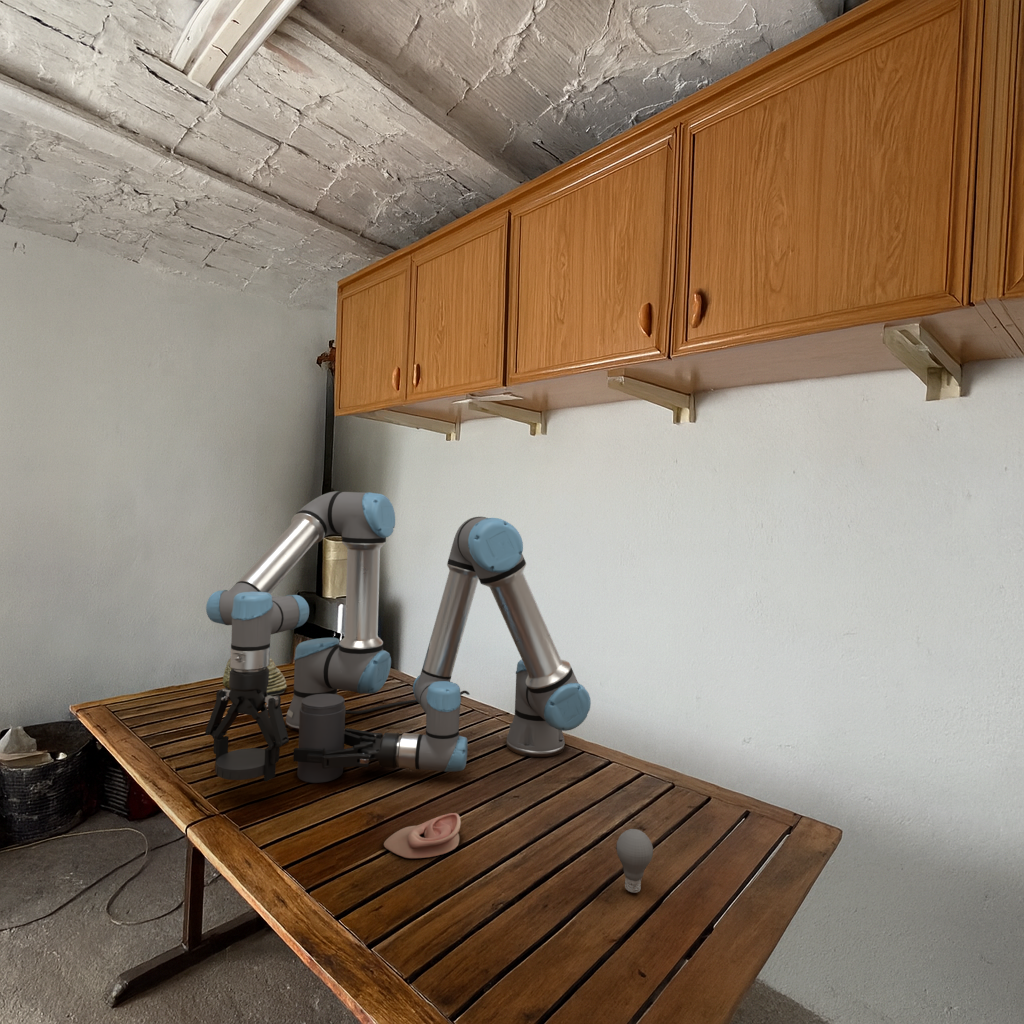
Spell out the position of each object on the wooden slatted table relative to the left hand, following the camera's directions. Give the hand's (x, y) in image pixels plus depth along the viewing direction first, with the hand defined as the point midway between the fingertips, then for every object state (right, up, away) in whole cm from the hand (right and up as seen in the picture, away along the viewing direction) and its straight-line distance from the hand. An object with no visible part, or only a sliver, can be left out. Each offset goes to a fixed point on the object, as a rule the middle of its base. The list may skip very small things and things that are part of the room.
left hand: (245, 774), depth 131 cm
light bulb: (+75, -9, -25) cm, 80 cm away
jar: (+11, -6, +14) cm, 19 cm away
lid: (0, +3, 0) cm, 3 cm away
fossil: (-26, -3, +67) cm, 72 cm away
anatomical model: (+38, -8, -13) cm, 41 cm away
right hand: (+7, +1, +14) cm, 16 cm away
